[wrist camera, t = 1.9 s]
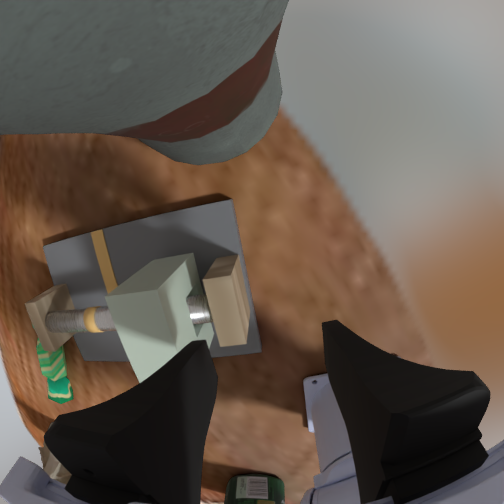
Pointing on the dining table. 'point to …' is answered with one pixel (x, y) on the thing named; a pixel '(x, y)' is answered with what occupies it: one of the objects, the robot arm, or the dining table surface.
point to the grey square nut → (157, 312)
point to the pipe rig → (131, 261)
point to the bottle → (143, 72)
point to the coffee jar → (254, 490)
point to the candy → (55, 373)
